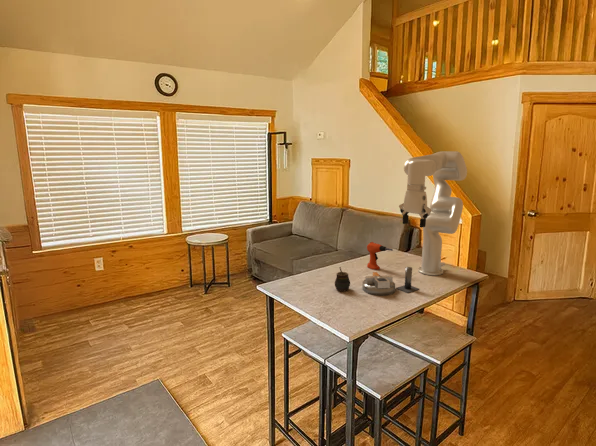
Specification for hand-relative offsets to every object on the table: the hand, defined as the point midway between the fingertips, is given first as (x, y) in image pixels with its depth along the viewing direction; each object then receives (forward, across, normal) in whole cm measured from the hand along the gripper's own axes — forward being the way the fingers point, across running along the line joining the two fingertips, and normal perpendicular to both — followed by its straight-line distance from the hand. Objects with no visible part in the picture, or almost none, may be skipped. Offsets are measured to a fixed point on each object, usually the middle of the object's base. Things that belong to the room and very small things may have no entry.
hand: (413, 225), depth 172 cm
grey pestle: (+30, -1, +2) cm, 30 cm away
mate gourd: (+31, +17, +28) cm, 45 cm away
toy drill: (+31, +27, -7) cm, 41 cm away
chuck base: (+30, +7, +14) cm, 34 cm away
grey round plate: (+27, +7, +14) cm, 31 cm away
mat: (+30, 0, +2) cm, 30 cm away
